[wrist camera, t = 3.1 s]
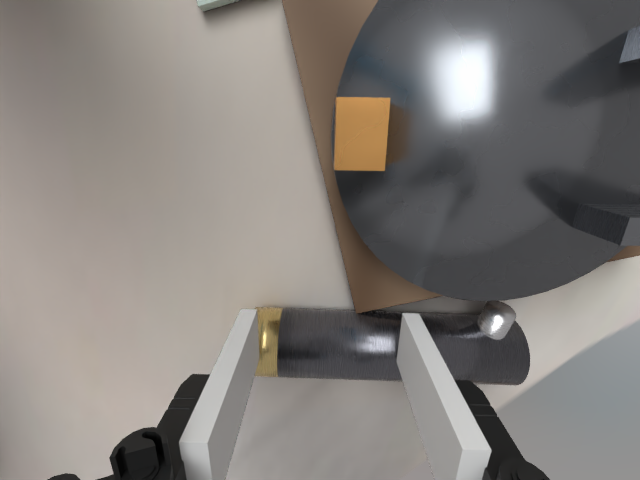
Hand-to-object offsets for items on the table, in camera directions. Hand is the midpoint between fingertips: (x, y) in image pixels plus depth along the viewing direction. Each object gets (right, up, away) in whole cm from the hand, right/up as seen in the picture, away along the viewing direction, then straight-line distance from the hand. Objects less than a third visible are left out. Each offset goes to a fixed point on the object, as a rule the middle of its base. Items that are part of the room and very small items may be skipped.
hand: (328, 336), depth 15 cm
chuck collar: (+7, +9, -1) cm, 11 cm away
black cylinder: (-4, -1, +2) cm, 5 cm away
